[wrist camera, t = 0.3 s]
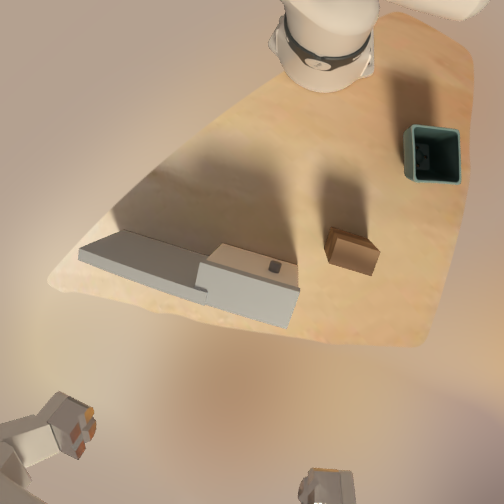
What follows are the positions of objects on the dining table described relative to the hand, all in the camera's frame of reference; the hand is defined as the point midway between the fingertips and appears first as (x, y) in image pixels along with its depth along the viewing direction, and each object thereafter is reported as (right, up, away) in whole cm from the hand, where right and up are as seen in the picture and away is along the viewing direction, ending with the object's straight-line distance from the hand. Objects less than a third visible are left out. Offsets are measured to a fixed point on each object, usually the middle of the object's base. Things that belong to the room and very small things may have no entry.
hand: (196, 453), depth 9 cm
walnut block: (+18, +9, +45) cm, 49 cm away
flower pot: (+31, +24, +39) cm, 55 cm away
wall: (-7, +8, +48) cm, 50 cm away
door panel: (+3, +7, +47) cm, 48 cm away
